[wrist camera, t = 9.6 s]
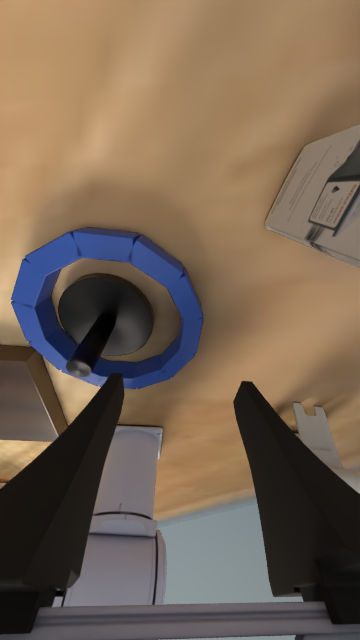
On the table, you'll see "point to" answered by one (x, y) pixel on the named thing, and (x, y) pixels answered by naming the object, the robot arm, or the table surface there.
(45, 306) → the ring
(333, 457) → the tablet stand
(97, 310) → the post
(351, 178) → the ink box
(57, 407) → the platform
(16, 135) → the table surface
